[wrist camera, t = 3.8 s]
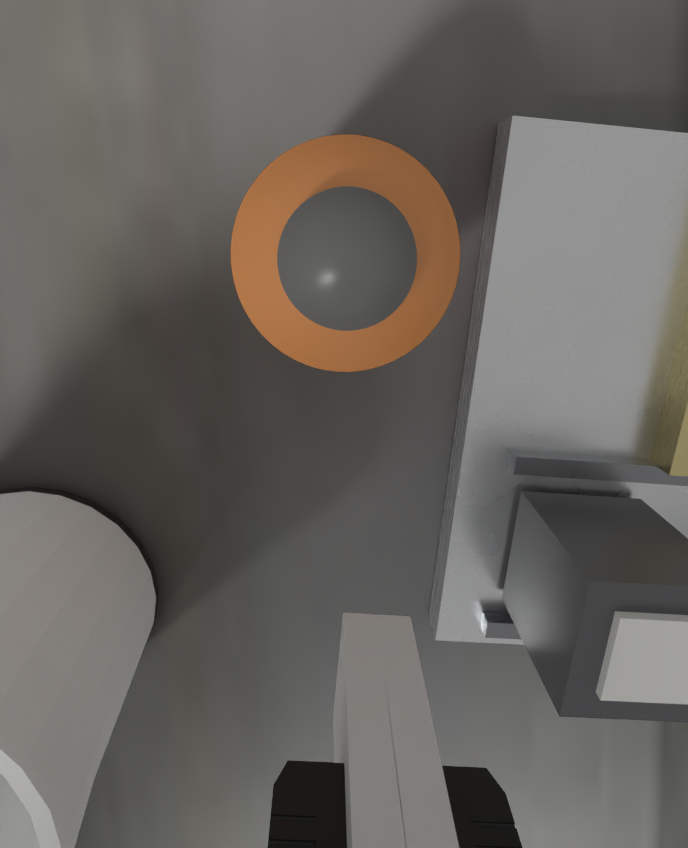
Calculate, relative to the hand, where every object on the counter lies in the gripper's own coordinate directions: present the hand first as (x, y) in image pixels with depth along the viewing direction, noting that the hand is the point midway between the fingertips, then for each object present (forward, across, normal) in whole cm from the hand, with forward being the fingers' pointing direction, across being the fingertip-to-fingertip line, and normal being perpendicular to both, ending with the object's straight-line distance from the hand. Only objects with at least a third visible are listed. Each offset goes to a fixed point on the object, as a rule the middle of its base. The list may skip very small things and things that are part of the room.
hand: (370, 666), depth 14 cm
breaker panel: (+9, +11, +4) cm, 15 cm away
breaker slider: (+7, +7, 0) cm, 10 cm away
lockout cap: (+9, -1, +9) cm, 12 cm away
